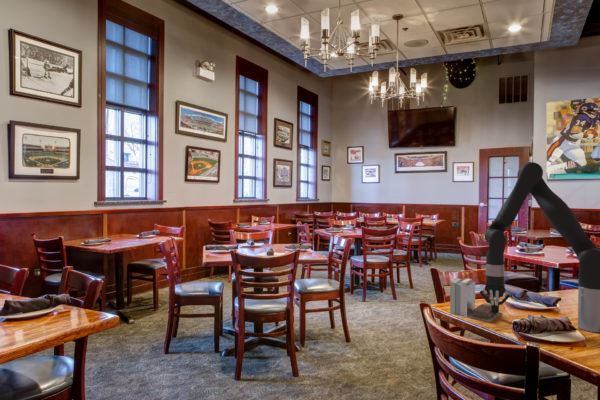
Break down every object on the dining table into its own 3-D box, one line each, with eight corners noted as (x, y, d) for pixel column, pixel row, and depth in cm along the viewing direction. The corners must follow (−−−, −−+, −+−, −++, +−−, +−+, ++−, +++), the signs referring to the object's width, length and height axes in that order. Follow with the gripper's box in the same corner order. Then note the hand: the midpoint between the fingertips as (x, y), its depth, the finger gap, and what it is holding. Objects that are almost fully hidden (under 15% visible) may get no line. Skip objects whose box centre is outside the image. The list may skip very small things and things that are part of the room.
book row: (471, 310, 194) (471, 279, 194) (465, 315, 186) (465, 282, 186) (456, 308, 198) (456, 277, 198) (450, 313, 190) (450, 280, 190)
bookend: (475, 311, 195) (475, 281, 195) (467, 318, 184) (467, 286, 184) (458, 308, 200) (458, 279, 200) (449, 315, 189) (450, 284, 188)
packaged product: (479, 301, 198) (501, 304, 191) (479, 311, 198) (501, 315, 191) (466, 308, 184) (490, 313, 177) (466, 319, 184) (490, 324, 177)
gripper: (513, 274, 182) (513, 313, 182) (481, 271, 190) (481, 309, 190) (509, 277, 176) (510, 317, 176) (477, 274, 184) (477, 312, 184)
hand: (495, 313), depth 183 cm, fingers closed
